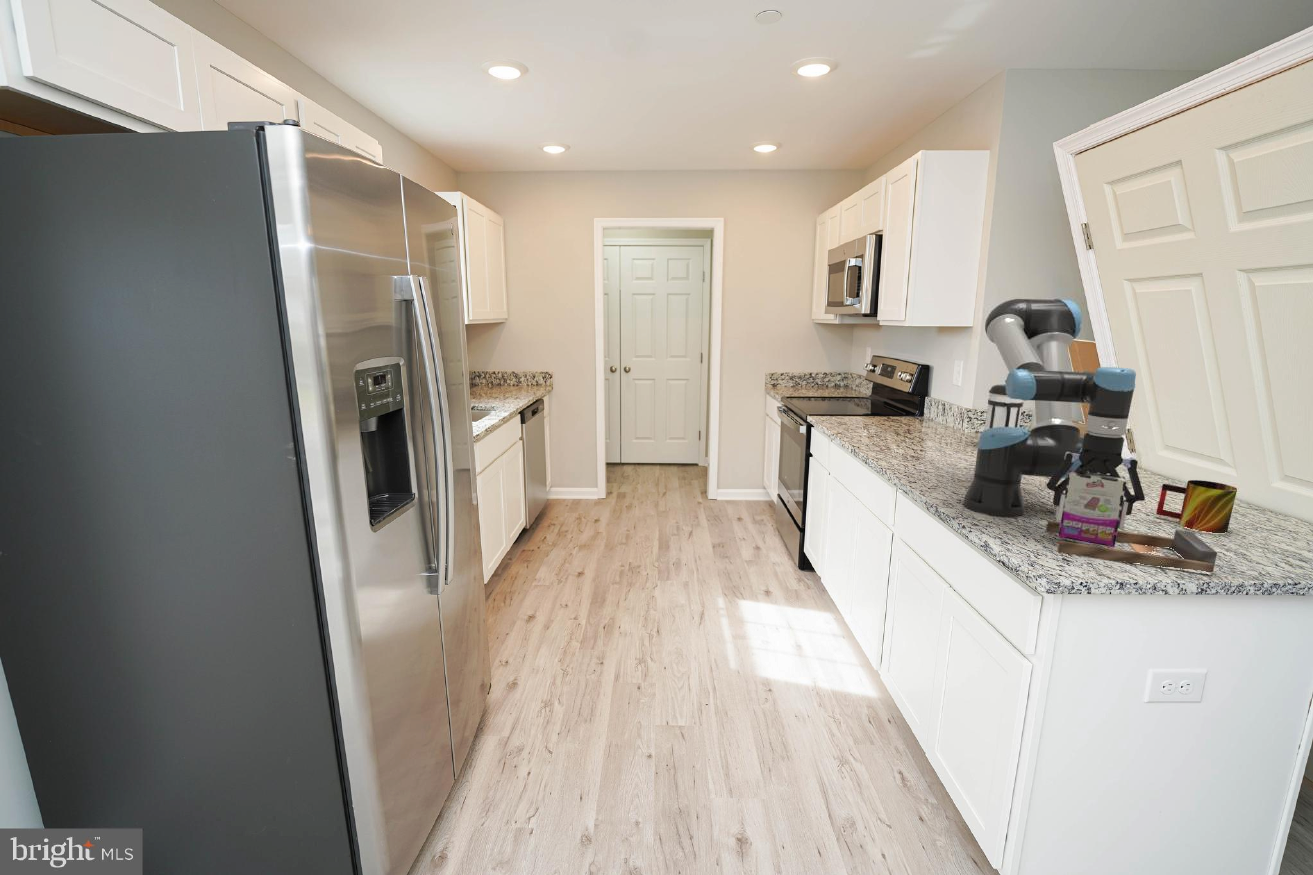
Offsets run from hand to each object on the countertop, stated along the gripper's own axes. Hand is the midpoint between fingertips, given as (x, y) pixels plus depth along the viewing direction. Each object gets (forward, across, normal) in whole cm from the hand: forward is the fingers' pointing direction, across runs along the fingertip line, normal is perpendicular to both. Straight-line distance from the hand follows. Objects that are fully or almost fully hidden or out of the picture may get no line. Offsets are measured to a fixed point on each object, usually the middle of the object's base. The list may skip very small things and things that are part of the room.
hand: (1088, 523), depth 143 cm
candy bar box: (+4, 0, 0) cm, 4 cm away
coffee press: (+6, -8, +109) cm, 109 cm away
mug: (+6, +30, +30) cm, 43 cm away
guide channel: (+6, +7, 0) cm, 9 cm away
